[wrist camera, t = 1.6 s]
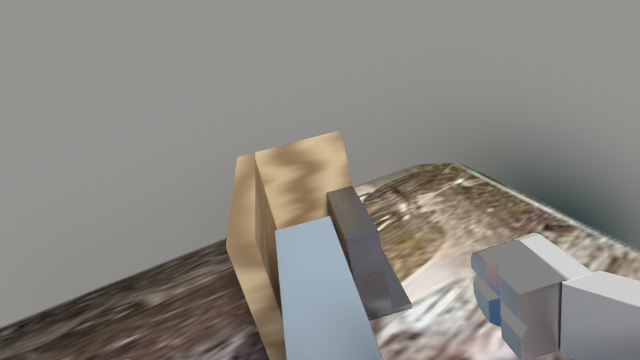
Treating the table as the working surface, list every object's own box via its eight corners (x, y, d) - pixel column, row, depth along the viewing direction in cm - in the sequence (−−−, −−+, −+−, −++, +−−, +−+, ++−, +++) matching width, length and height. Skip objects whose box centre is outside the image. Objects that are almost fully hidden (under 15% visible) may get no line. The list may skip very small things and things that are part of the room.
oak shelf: (285, 401, 32) (225, 247, 26) (275, 271, 49) (237, 157, 42) (415, 362, 33) (390, 202, 26) (362, 247, 49) (338, 130, 43)
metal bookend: (364, 321, 38) (345, 239, 34) (343, 263, 47) (326, 192, 43) (412, 308, 38) (399, 224, 34) (382, 252, 48) (369, 180, 43)
